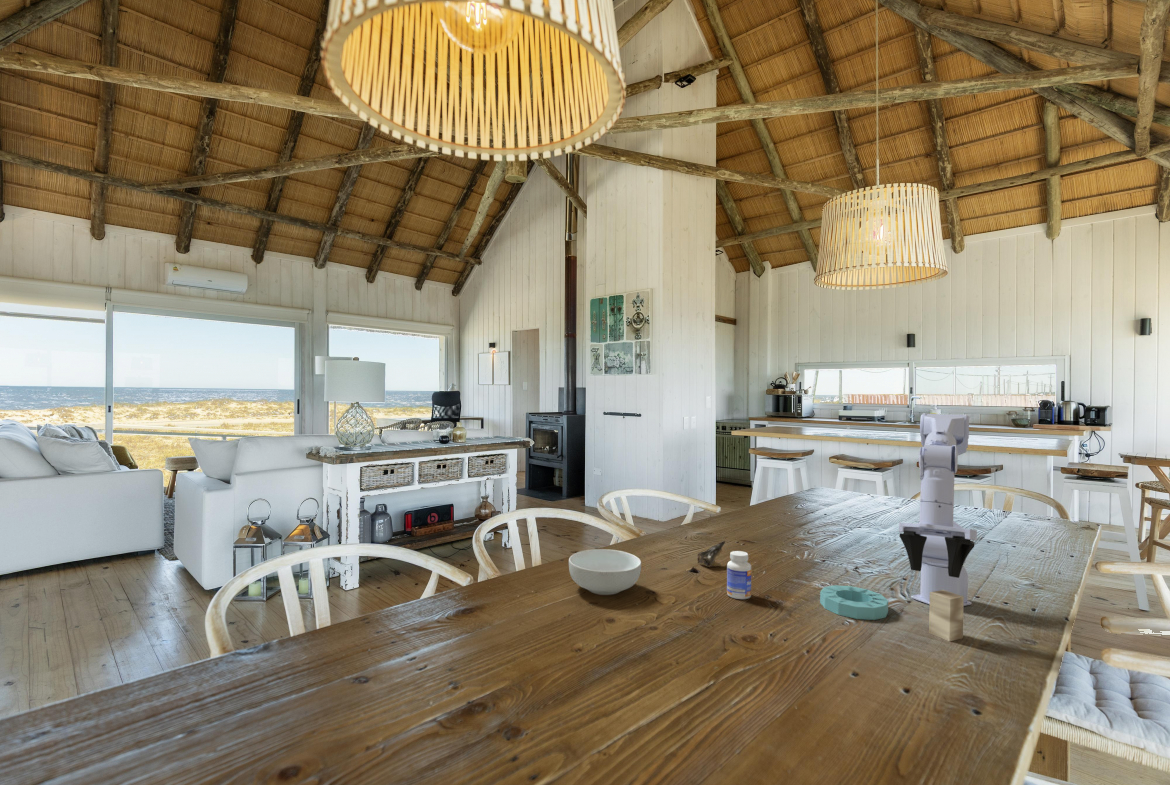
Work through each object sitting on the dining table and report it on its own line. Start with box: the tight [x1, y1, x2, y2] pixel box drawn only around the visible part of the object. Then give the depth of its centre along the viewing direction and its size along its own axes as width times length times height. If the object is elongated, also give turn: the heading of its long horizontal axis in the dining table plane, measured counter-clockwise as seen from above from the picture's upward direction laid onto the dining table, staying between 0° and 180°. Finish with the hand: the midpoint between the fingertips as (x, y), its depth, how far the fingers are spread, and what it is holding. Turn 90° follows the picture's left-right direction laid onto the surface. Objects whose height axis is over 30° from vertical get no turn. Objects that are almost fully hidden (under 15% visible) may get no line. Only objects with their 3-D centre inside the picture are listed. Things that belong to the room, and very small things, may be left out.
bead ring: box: [819, 584, 889, 621], centre depth 122 cm, size 13×13×2 cm
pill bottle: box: [726, 550, 752, 600], centre depth 128 cm, size 5×5×10 cm
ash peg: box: [928, 590, 964, 642], centre depth 109 cm, size 4×4×8 cm
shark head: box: [697, 540, 726, 568], centre depth 150 cm, size 8×6×7 cm
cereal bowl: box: [568, 548, 642, 596], centre depth 131 cm, size 17×17×7 cm
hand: (934, 573), depth 110 cm, fingers open, 7 cm apart
